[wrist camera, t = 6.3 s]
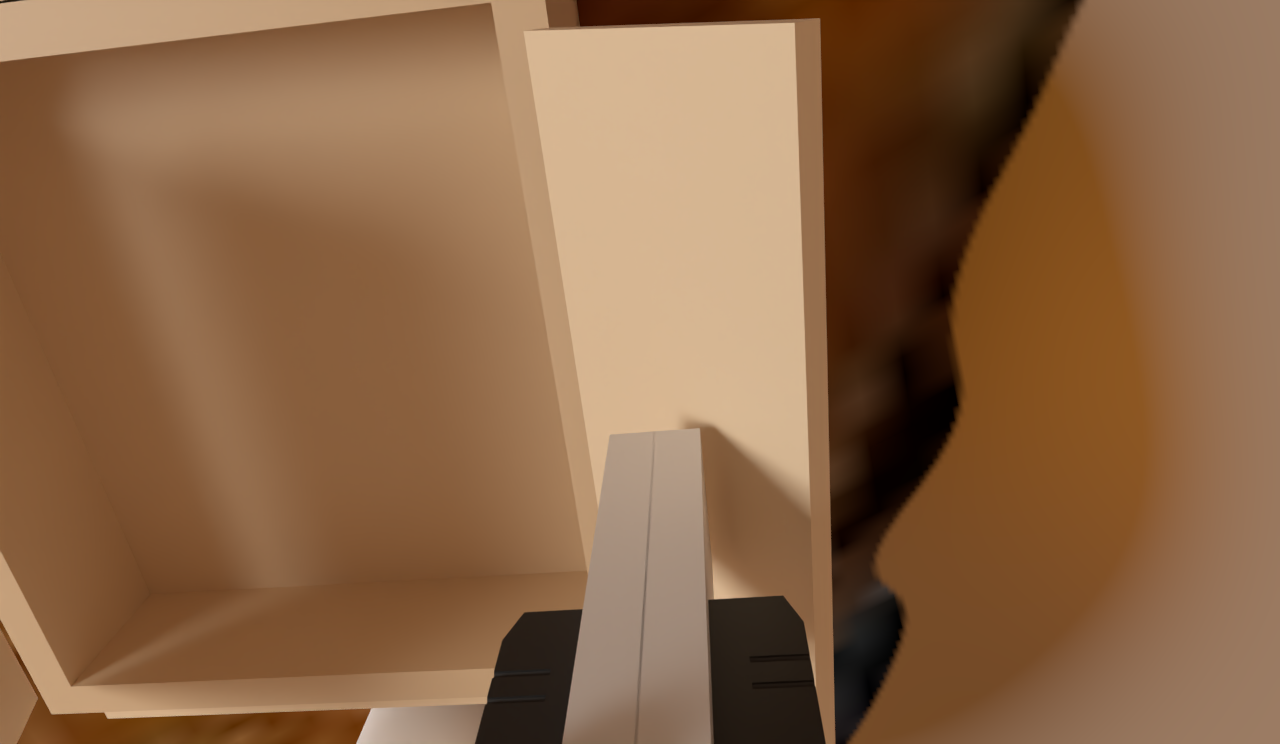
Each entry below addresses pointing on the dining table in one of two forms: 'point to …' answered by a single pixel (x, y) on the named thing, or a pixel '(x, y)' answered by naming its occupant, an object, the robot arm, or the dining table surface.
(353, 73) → the carton
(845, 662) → the dining table surface
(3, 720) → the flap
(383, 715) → the beverage can
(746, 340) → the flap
